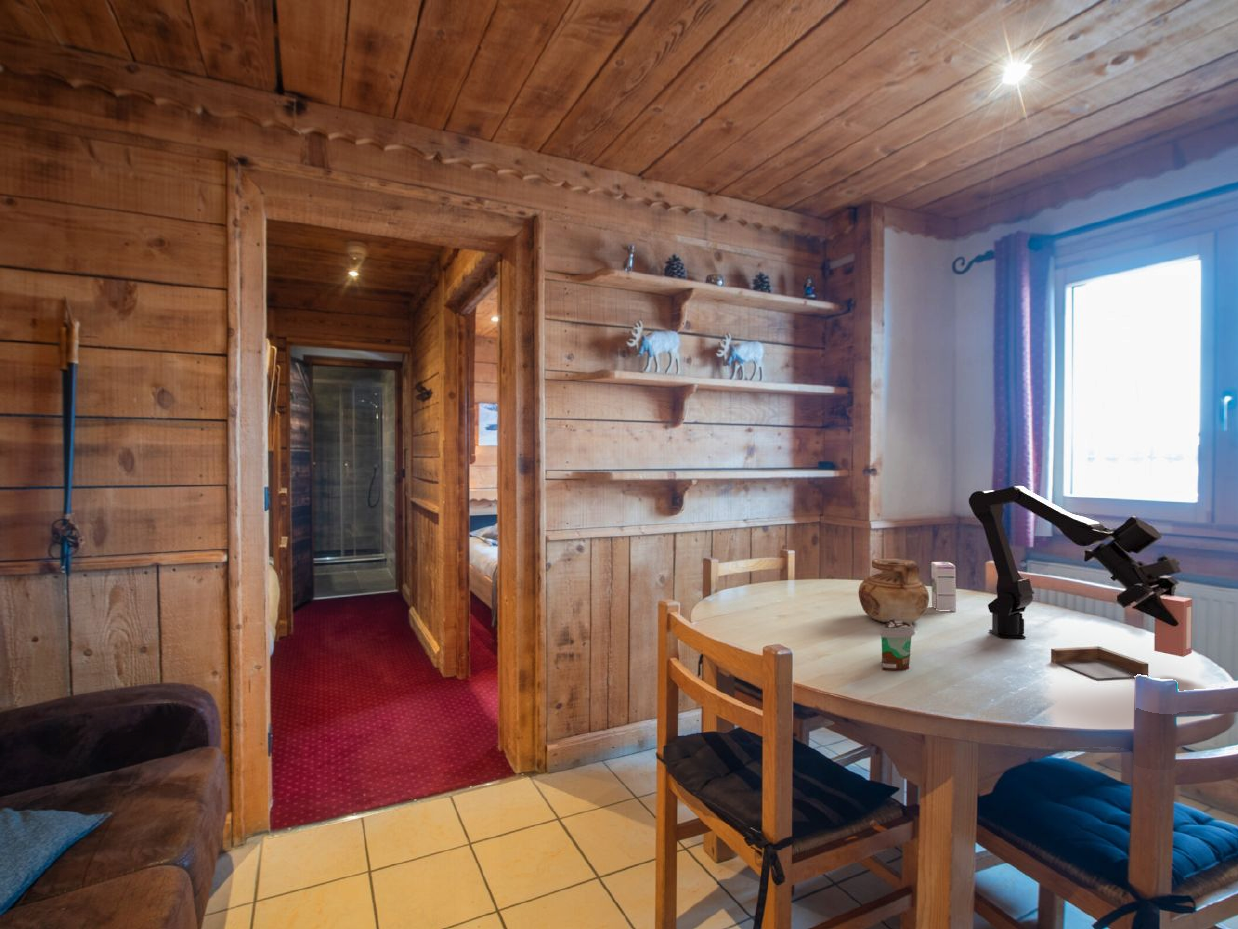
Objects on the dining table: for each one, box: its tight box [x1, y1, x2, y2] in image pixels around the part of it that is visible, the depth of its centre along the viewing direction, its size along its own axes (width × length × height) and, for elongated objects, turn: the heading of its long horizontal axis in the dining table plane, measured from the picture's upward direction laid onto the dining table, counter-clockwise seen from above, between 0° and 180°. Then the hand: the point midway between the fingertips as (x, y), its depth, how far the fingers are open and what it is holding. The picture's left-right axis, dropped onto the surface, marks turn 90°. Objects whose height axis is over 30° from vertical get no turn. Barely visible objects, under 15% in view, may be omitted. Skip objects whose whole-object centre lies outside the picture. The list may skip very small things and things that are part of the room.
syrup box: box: [931, 561, 957, 612], centre depth 198 cm, size 6×6×14 cm
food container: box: [880, 616, 916, 672], centre depth 146 cm, size 12×6×10 cm, turn 148°
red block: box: [1153, 594, 1193, 658], centre depth 140 cm, size 5×5×12 cm
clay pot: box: [858, 557, 930, 624], centre depth 186 cm, size 19×19×20 cm
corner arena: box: [1050, 645, 1149, 681], centre depth 143 cm, size 12×12×3 cm
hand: (1181, 623), depth 139 cm, fingers closed on red block, 5 cm apart
